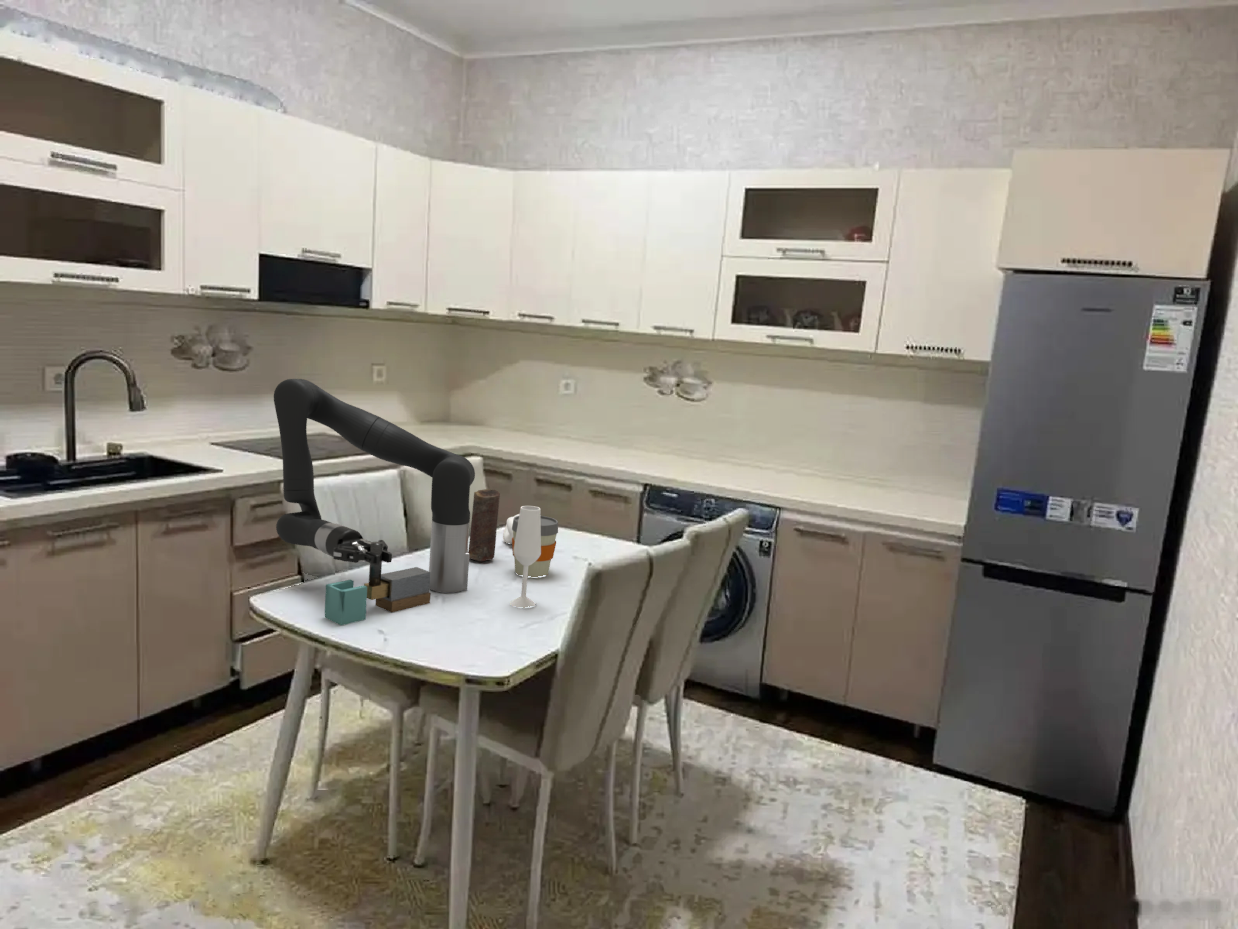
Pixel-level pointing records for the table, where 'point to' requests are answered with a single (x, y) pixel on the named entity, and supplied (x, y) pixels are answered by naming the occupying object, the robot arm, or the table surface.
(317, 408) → the robot arm
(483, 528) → the candle
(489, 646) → the table surface
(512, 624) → the table surface
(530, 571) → the reusable coffee cup
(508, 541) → the white rounded piece
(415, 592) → the sleeve
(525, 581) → the champagne flute
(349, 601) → the socket
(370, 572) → the board with post
